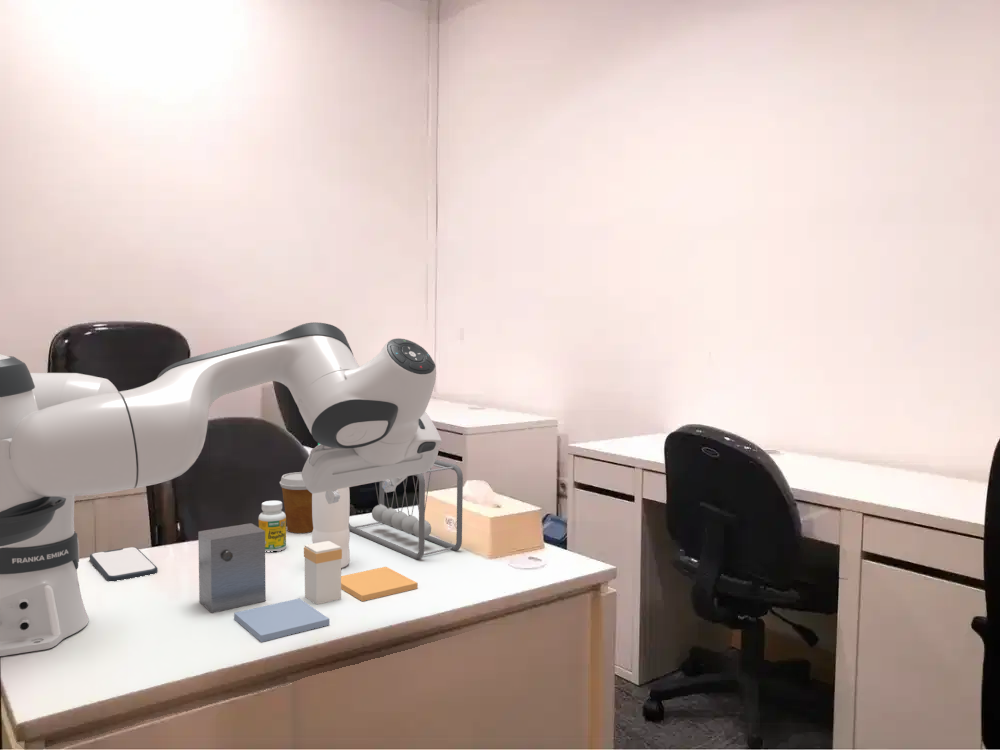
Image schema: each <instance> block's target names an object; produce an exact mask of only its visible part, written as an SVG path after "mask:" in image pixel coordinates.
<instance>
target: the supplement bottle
mask: <svg viewBox="0 0 1000 750" xmlns="http://www.w3.org/2000/svg"><path fill="white" fill-rule="evenodd" d="M261 510H262V512H260V514H259V515H258V527H259V528H261V529H262V530H264V531H265V551H279V552H282V551H284V550H285V549H286V548H287V522H286V515H285V511H283V502H282V501H281V500H266V501H264V502H262V503H261ZM281 550H282V551H281Z"/></svg>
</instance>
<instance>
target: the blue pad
mask: <svg viewBox="0 0 1000 750" xmlns="http://www.w3.org/2000/svg"><path fill="white" fill-rule="evenodd" d="M233 618H234V619H233V620H235V621H236V622H237V623H239V624H240V626H242V627H243V628H244V629H245V630H246V631H248V632H249V633H250V635H252V636H253V637H255V638H256V640H258V641H259V642H261V643H263V642H267V641H268V642H269V641H271V640H276V639H280V638H284V637H287V635H288V636H291V634H292V635H295V633H296V634H299V632H300V633H304V632H308V631H312V630H315V629H319V627H320V628H323V626H324V627H327V625H328V626H330V618H329V617H327V616H326V615H324V614H323V613H322V612H320V611H319V610H317V609H316V608H314V607H313V606H311V604H308V603H307V602H305V601H304V600H303V599H301V598H300V597H299V598H298V597H297V598H295V599H290V600H286V601H281V602H276V603H272V604H267V605H263V606H258V607H254V608H250V609H249V608H248V609H246V610H245V609H244V610H241V611H240V610H239V611H236V612H234V613H233ZM314 628H315V629H314ZM311 629H312V630H311ZM307 630H308V631H307ZM303 631H304V632H303Z"/></svg>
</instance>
